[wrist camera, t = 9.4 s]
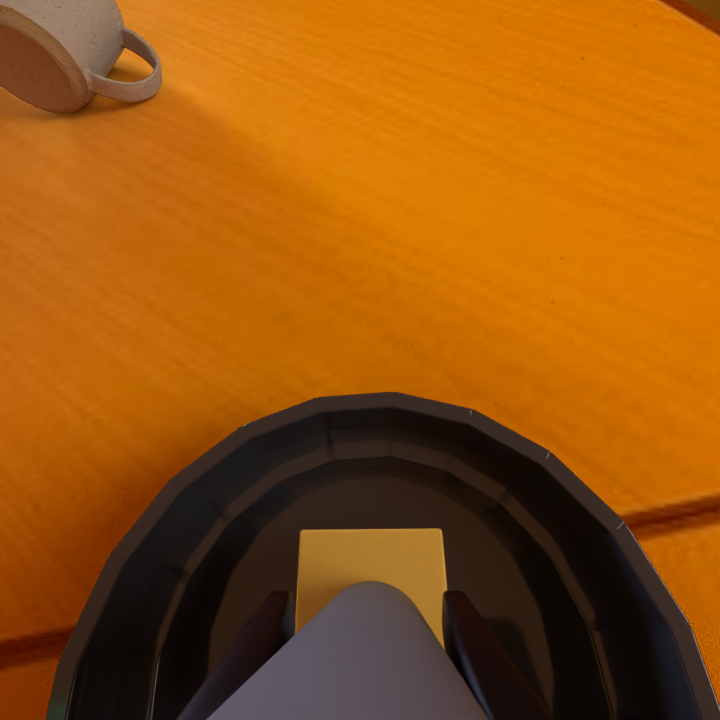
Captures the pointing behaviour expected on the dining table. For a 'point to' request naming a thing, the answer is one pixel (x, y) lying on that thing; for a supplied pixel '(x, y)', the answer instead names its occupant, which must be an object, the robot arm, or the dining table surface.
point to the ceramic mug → (69, 53)
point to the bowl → (385, 511)
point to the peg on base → (362, 636)
